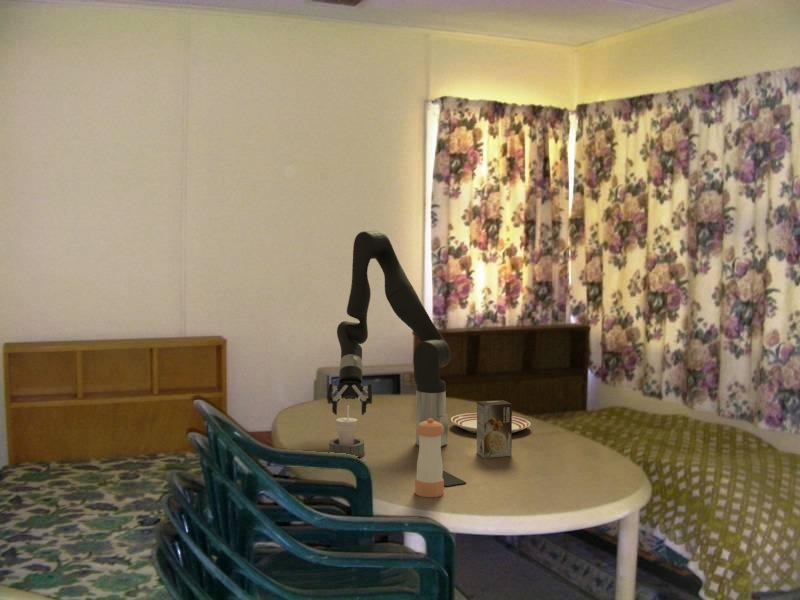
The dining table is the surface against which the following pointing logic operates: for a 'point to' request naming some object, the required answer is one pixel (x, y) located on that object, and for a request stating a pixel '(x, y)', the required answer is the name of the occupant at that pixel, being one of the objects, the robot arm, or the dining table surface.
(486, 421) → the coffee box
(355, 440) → the grey short hollow cylinder
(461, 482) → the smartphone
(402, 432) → the dining table surface
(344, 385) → the robot arm
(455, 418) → the dinner plate
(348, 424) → the smoothie
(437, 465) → the salt shaker
